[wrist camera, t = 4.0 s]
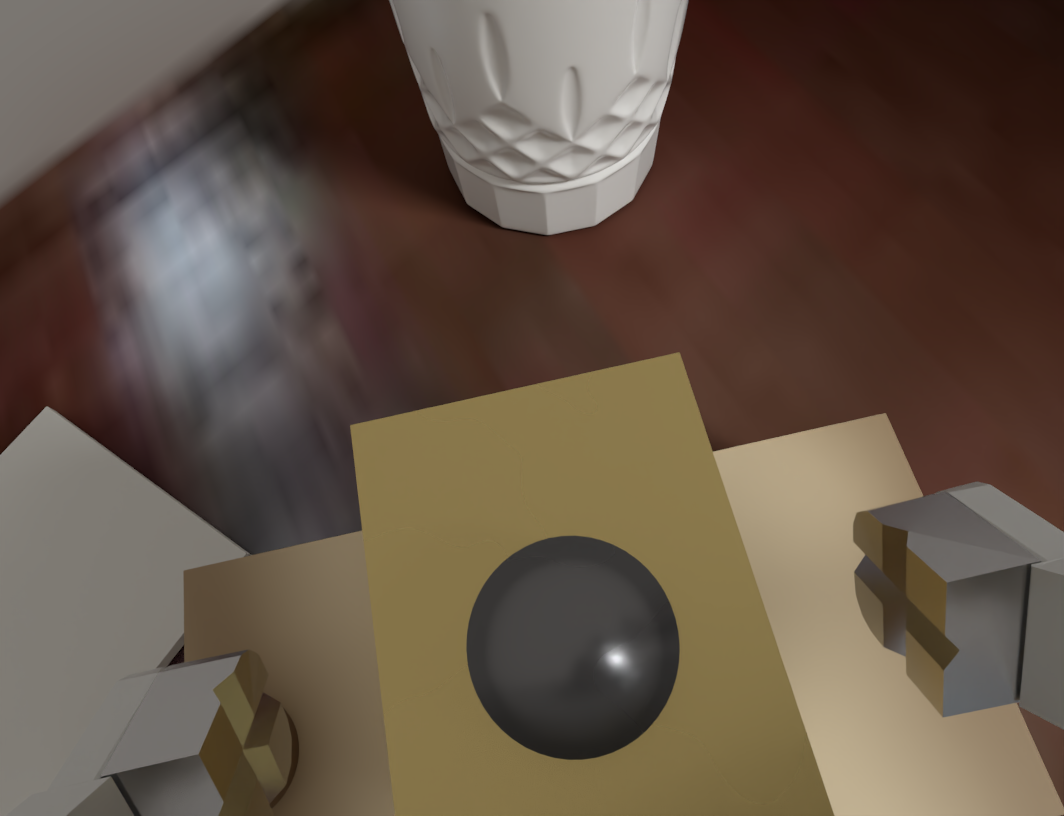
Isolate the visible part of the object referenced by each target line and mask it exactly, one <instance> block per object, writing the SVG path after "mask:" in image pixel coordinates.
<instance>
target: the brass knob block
mask: <svg viewBox="0 0 1064 816" xmlns="http://www.w3.org/2000/svg"><path fill="white" fill-rule="evenodd" d="M350 428H351V437H352V446H353V454H354V463H355V472H356V481H357V489H358V498H359V507H360V515H361V524H362V533H363V542H364V550H365V559H366V568H367V576H368V585H369V594H370V603H371V611H372V620H373V629H374V637H375V646H376V655H377V664H378V672H379V681H380V690H381V699H382V707H383V716H384V725H385V733H386V742H387V751H388V760H389V768H390V777H391V786H392V794H393V803H394V812H395V816H834V813H833V810H832V807H831V804H830V801H829V798H828V795H827V792H826V789H825V786H824V783H823V780H822V777H821V774H820V771H819V768H818V765H817V762H816V759H815V756H814V753H813V750H812V747H811V744H810V741H809V738H808V735H807V732H806V729H805V726H804V723H803V720H802V717H801V714H800V711H799V708H798V705H797V702H796V699H795V696H794V693H793V690H792V687H791V684H790V682H789V679H788V676H787V673H786V670H785V667H784V664H783V661H782V658H781V655H780V652H779V649H778V646H777V643H776V640H775V637H774V634H773V631H772V628H771V625H770V622H769V619H768V616H767V613H766V610H765V607H764V604H763V601H762V598H761V595H760V592H759V589H758V586H757V583H756V580H755V577H754V574H753V571H752V568H751V565H750V562H749V559H748V556H747V553H746V550H745V547H744V544H743V541H742V538H741V535H740V532H739V529H738V526H737V523H736V520H735V517H734V514H733V511H732V508H731V505H730V502H729V499H728V496H727V493H726V490H725V487H724V484H723V481H722V478H721V475H720V472H719V469H718V466H717V463H716V460H715V457H714V454H713V451H712V448H711V445H710V442H709V439H708V436H707V433H706V430H705V427H704V424H703V421H702V418H701V415H700V412H699V409H698V406H697V403H696V400H695V397H694V394H693V391H692V388H691V385H690V382H689V379H688V376H687V373H686V371H685V368H684V365H683V362H682V359H681V356H680V353H675V354H670V355H666V356H661V357H657V358H652V359H647V360H643V361H638V362H634V363H629V364H625V365H620V366H616V367H611V368H607V369H602V370H598V371H593V372H589V373H584V374H580V375H575V376H571V377H566V378H562V379H557V380H553V381H548V382H544V383H539V384H535V385H530V386H526V387H521V388H516V389H512V390H507V391H503V392H498V393H494V394H489V395H485V396H480V397H476V398H471V399H467V400H462V401H458V402H453V403H449V404H444V405H440V406H435V407H431V408H426V409H422V410H417V411H413V412H408V413H404V414H399V415H395V416H390V417H385V418H381V419H376V420H372V421H367V422H363V423H358V424H354V425H350Z"/></svg>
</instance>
